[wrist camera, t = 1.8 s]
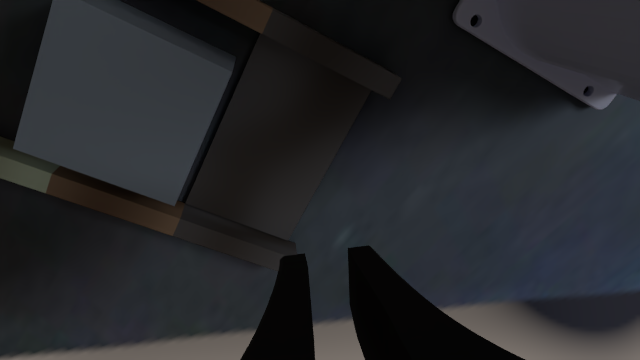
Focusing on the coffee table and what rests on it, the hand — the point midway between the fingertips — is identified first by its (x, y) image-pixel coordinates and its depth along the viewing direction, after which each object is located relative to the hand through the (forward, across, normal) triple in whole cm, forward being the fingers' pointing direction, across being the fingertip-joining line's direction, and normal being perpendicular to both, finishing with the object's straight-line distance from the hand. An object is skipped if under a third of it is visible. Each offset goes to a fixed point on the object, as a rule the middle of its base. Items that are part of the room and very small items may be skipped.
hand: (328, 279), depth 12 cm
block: (+10, +6, -4) cm, 12 cm away
